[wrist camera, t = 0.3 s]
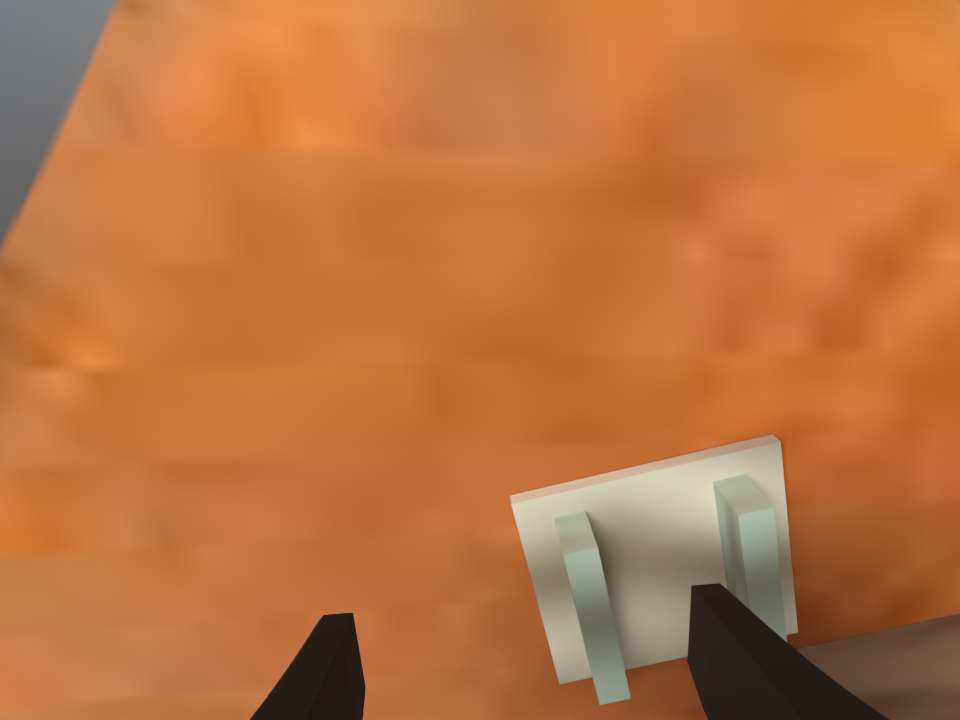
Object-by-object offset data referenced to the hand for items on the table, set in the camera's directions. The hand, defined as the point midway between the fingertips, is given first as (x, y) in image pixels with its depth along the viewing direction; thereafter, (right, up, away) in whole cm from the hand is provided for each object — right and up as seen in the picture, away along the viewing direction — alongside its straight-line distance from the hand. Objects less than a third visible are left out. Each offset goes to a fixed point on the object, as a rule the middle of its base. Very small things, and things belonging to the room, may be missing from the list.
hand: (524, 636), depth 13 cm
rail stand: (+6, -2, +12) cm, 13 cm away
